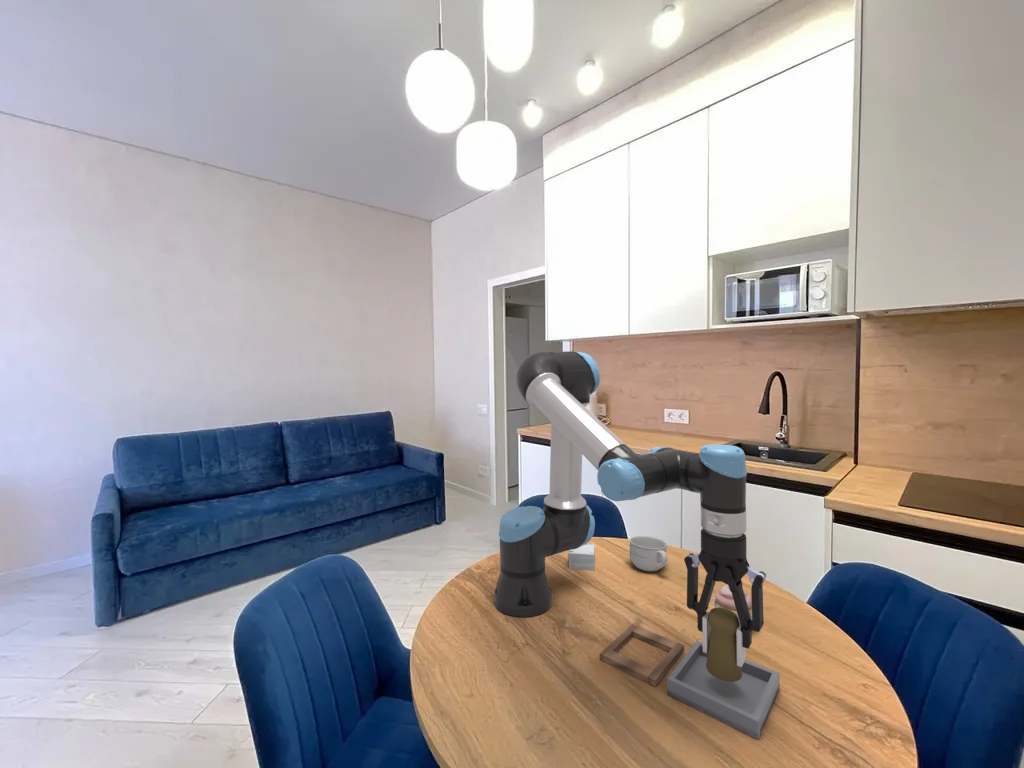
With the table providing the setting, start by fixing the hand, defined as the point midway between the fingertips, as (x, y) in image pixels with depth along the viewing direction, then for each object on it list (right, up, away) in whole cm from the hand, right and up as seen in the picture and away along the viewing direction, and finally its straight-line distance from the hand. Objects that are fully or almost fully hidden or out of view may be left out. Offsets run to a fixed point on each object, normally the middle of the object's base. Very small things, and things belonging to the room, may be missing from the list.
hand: (723, 655), depth 81 cm
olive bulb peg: (0, -3, 0) cm, 3 cm away
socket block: (-12, -7, +11) cm, 18 cm away
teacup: (+2, -5, +50) cm, 50 cm away
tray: (0, -7, 0) cm, 7 cm away
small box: (-17, -6, +54) cm, 57 cm away
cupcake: (+13, -6, +21) cm, 26 cm away
